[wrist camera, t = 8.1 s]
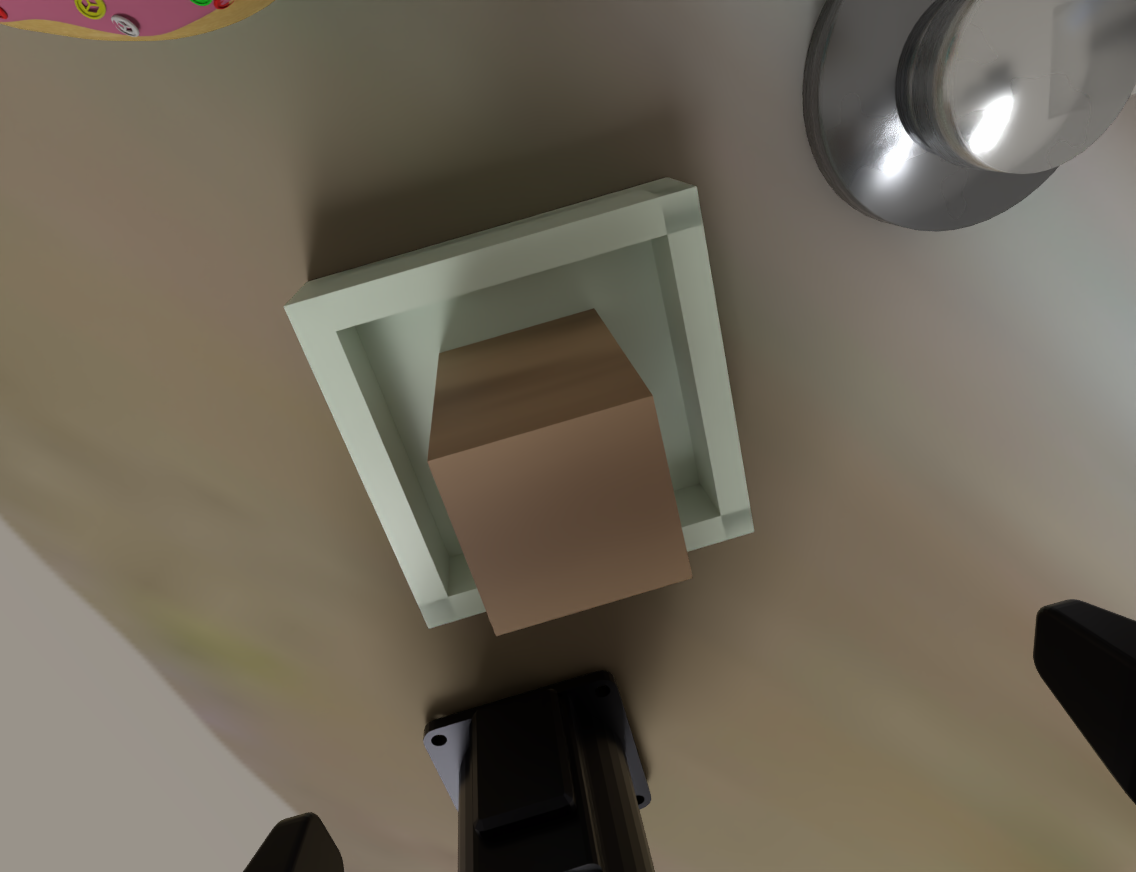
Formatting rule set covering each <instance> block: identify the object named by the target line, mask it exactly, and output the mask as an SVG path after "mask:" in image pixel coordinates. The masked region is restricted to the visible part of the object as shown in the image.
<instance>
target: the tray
mask: <svg viewBox="0 0 1136 872" xmlns="http://www.w3.org/2000/svg"><path fill="white" fill-rule="evenodd" d="M593 308H594V309H595V310H596V312H597V313H598V315H599V316H600V318H601V319H602V321H603V322H604V324H605V325H606V326H607V328H608V329H609V331H610V332H611V334H612V335H613V337H614V338H615V340H616V341H617V343H618V344H619V346H620V347H621V349H622V350H623V352H624V353H625V355H626V356H627V358H628V359H629V361H630V362H631V364H632V365H633V367H634V368H635V370H636V371H637V373H638V374H639V376H640V377H641V379H642V380H643V382H644V383H645V385H646V386H647V388H648V389H649V391H650V392H651V394H652V395H653V399H654V403H655V408H656V412H657V417H658V421H659V426H660V431H661V435H662V440H663V444H664V449H665V453H666V458H667V463H668V467H669V472H670V476H671V481H672V485H673V490H674V495H675V499H676V504H677V508H678V513H679V517H680V522H681V526H682V531H683V536H684V540H685V545H686V549H687V552H688V551H692V550H695V549H699V548H702V547H705V546H709V545H712V544H715V543H719V542H722V541H725V540H729V539H732V538H736V537H739V536H742V535H746V534H749V533H752V532H754V527H753V521H752V515H751V509H750V503H749V497H748V491H747V485H746V479H745V473H744V467H743V461H742V455H741V449H740V443H739V437H738V431H737V425H736V419H735V413H734V407H733V401H732V395H731V389H730V383H729V377H728V371H727V365H726V359H725V353H724V347H723V341H722V335H721V329H720V323H719V317H718V311H717V305H716V299H715V293H714V287H713V281H712V275H711V269H710V263H709V257H708V251H707V245H706V239H705V233H704V227H703V221H702V215H701V209H700V203H699V197H698V191H697V186H694V185H691V184H688V183H684V182H681V181H678V180H675V179H671V178H668V177H666V178H662V179H659V180H655V181H652V182H649V183H645V184H642V185H638V186H635V187H631V188H628V189H625V190H621V191H618V192H614V193H611V194H607V195H604V196H600V197H597V198H594V199H590V200H587V201H583V202H580V203H576V204H573V205H570V206H566V207H563V208H559V209H556V210H552V211H549V212H545V213H542V214H539V215H535V216H532V217H528V218H525V219H521V220H518V221H514V222H511V223H508V224H504V225H501V226H497V227H494V228H490V229H487V230H484V231H480V232H477V233H473V234H470V235H466V236H463V237H459V238H456V239H453V240H449V241H446V242H442V243H439V244H435V245H432V246H429V247H425V248H422V249H418V250H415V251H411V252H408V253H404V254H401V255H398V256H394V257H391V258H387V259H384V260H380V261H377V262H374V263H370V264H367V265H363V266H360V267H356V268H353V269H349V270H346V271H343V272H339V273H336V274H332V275H329V276H325V277H322V278H319V279H315V280H312V281H308V282H306V283H305V284H304V286H303V287H302V288H301V289H300V290H299V291H298V292H297V293H296V294H295V295H294V296H293V297H292V298H291V299H290V300H289V301H288V302H287V303H286V304H285V306H284V309H285V311H286V313H287V315H288V317H289V320H290V322H291V324H292V326H293V329H294V331H295V333H296V335H297V337H298V340H299V342H300V344H301V346H302V349H303V351H304V353H305V355H306V357H307V360H308V362H309V364H310V366H311V369H312V371H313V373H314V375H315V377H316V380H317V382H318V384H319V386H320V389H321V391H322V393H323V395H324V397H325V400H326V402H327V404H328V406H329V408H330V411H331V413H332V415H333V417H334V420H335V422H336V424H337V426H338V428H339V431H340V433H341V435H342V437H343V440H344V442H345V444H346V446H347V448H348V451H349V453H350V455H351V457H352V460H353V462H354V464H355V466H356V468H357V471H358V473H359V475H360V477H361V480H362V482H363V484H364V486H365V488H366V491H367V493H368V495H369V497H370V499H371V502H372V504H373V506H374V508H375V511H376V513H377V515H378V517H379V519H380V522H381V524H382V526H383V528H384V531H385V533H386V535H387V537H388V539H389V542H390V544H391V546H392V548H393V551H394V553H395V555H396V557H397V559H398V562H399V564H400V566H401V568H402V571H403V573H404V575H405V577H406V579H407V582H408V584H409V586H410V588H411V591H412V593H413V595H414V597H415V599H416V602H417V604H418V606H419V608H420V610H421V613H422V615H423V617H424V619H425V622H426V624H427V626H428V628H429V629H430V628H433V627H436V626H440V625H443V624H446V623H450V622H453V621H457V620H460V619H463V618H467V617H470V616H473V615H477V614H480V613H483V612H486V610H485V607H484V605H483V602H482V600H481V597H480V594H479V592H478V589H477V587H476V584H475V582H474V579H473V577H472V574H471V572H470V569H469V567H468V564H467V561H466V559H465V556H464V554H463V551H462V549H461V546H460V544H459V541H458V539H457V536H456V534H455V531H454V528H453V526H452V523H451V521H450V518H449V516H448V513H447V511H446V508H445V506H444V503H443V501H442V498H441V495H440V493H439V490H438V488H437V485H436V483H435V480H434V478H433V475H432V473H431V470H430V468H429V465H428V462H427V458H428V449H429V440H430V431H431V421H432V412H433V403H434V394H435V385H436V376H437V366H438V357H439V353H442V352H445V351H449V350H452V349H455V348H459V347H462V346H466V345H469V344H473V343H476V342H480V341H483V340H486V339H490V338H493V337H497V336H500V335H504V334H507V333H511V332H514V331H517V330H521V329H524V328H528V327H531V326H535V325H538V324H542V323H545V322H548V321H552V320H555V319H559V318H562V317H566V316H569V315H573V314H576V313H579V312H583V311H586V310H590V309H593Z"/></svg>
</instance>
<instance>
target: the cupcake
mask: <svg viewBox="0 0 1136 872" xmlns="http://www.w3.org/2000/svg"><path fill="white" fill-rule="evenodd" d="M273 1H275V0H0V24H4V25H7V26H11V27H15V28H19V29H25V30H31V31H37V32H44V33H50V34H57V35H63V36H70V37H76V38H84V39H94V40H112V41H156V40H170V39H178V38H184V37H189V36H194V35H199V34H203V33H207V32H210V31H214V30H217V29H220V28H223V27H226V26H228V25H231V24H234V23H236V22H239V21H241V20H243V19H245V18H247V17H249V16H251V15H253V14H255V13H257V12H258V11H260V10H262V9H263V8H265V7H267V6H268V5H269V4H271V3H272V2H273Z"/></svg>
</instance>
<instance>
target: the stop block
mask: <svg viewBox="0 0 1136 872" xmlns="http://www.w3.org/2000/svg"><path fill="white" fill-rule="evenodd" d="M427 462H428V465H429V468H430V470H431V473H432V475H433V478H434V480H435V483H436V485H437V488H438V490H439V493H440V495H441V498H442V501H443V503H444V506H445V508H446V511H447V513H448V516H449V518H450V521H451V523H452V526H453V528H454V531H455V534H456V536H457V539H458V541H459V544H460V546H461V549H462V551H463V554H464V556H465V559H466V561H467V564H468V567H469V569H470V572H471V574H472V577H473V579H474V582H475V584H476V587H477V589H478V592H479V594H480V597H481V600H482V602H483V605H484V607H485V610H486V612H487V615H488V617H489V620H490V622H491V625H492V627H493V630H494V633H495V635H496V636H499V635H502V634H506V633H509V632H512V631H516V630H519V629H523V628H526V627H529V626H533V625H536V624H540V623H543V622H546V621H550V620H553V619H556V618H560V617H563V616H567V615H570V614H573V613H577V612H580V611H583V610H587V609H590V608H594V607H597V606H600V605H604V604H607V603H610V602H614V601H617V600H621V599H624V598H627V597H631V596H634V595H637V594H641V593H644V592H648V591H651V590H654V589H658V588H661V587H664V586H668V585H671V584H675V583H678V582H681V581H685V580H688V579H691V578H693V577H692V572H691V568H690V563H689V558H688V554H687V549H686V545H685V540H684V536H683V531H682V526H681V522H680V517H679V513H678V508H677V504H676V499H675V495H674V490H673V485H672V481H671V476H670V472H669V467H668V463H667V458H666V453H665V449H664V444H663V440H662V435H661V431H660V426H659V421H658V417H657V412H656V408H655V403H654V399H653V395H652V394H651V392H650V391H649V389H648V388H647V386H646V385H645V383H644V382H643V380H642V379H641V377H640V376H639V374H638V373H637V371H636V370H635V368H634V367H633V365H632V364H631V362H630V361H629V359H628V358H627V356H626V355H625V353H624V352H623V350H622V349H621V347H620V346H619V344H618V343H617V341H616V340H615V338H614V337H613V335H612V334H611V332H610V331H609V329H608V328H607V326H606V325H605V324H604V322H603V321H602V319H601V318H600V316H599V315H598V313H597V312H596V310H595V309H594V308H593V309H590V310H586V311H583V312H579V313H576V314H573V315H569V316H566V317H562V318H559V319H555V320H552V321H548V322H545V323H542V324H538V325H535V326H531V327H528V328H524V329H521V330H517V331H514V332H511V333H507V334H504V335H500V336H497V337H493V338H490V339H486V340H483V341H480V342H476V343H473V344H469V345H466V346H462V347H459V348H455V349H452V350H449V351H445V352H442V353H439V357H438V366H437V376H436V385H435V394H434V403H433V412H432V421H431V431H430V440H429V449H428V458H427Z"/></svg>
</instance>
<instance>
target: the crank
mask: <svg viewBox="0 0 1136 872" xmlns="http://www.w3.org/2000/svg"><path fill="white" fill-rule="evenodd" d="M1133 94H1136V0H946V1H945V2H944V3H943V5H942V6H941V7H940V9H939V10H938V11H937V13H936V15H935V16H934V18H933V20H932V21H931V23H930V25H929V27H928V29H927V31H926V33H925V35H924V37H923V39H922V42H921V45H920V48H919V51H918V54H917V58H916V62H915V66H914V72H913V79H912V102H913V110H914V114H915V119H916V122H917V125H918V127H919V130H920V132H921V134H922V136H923V138H924V140H925V141H926V143H927V144H928V145H929V146H930V148H931V149H932V150H933V151H934V152H935V153H936V154H937V155H938V156H939V157H941V158H943V159H944V160H946V161H947V162H949V163H951V164H954V165H956V166H959V167H963V168H967V169H977V170H986V171H996V172H1005V173H1016V174H1029V173H1037V172H1041V171H1046V170H1049V169H1051V168H1054V167H1057V166H1059V165H1061V164H1063V163H1065V162H1067V161H1069V160H1071V159H1072V158H1074V157H1076V156H1077V155H1079V154H1080V153H1082V152H1083V151H1084V150H1085V149H1087V148H1088V147H1089V146H1090V145H1092V144H1093V143H1094V142H1095V141H1096V140H1097V139H1098V138H1099V137H1100V136H1101V135H1102V134H1103V133H1104V132H1105V131H1106V130H1107V128H1108V127H1109V126H1110V125H1111V124H1112V123H1113V121H1114V120H1115V119H1116V117H1117V116H1118V114H1119V113H1120V111H1121V110H1122V109H1123V107H1124V105H1125V103H1126V102H1127V100H1128V98H1129V96H1130V95H1133Z"/></svg>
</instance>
